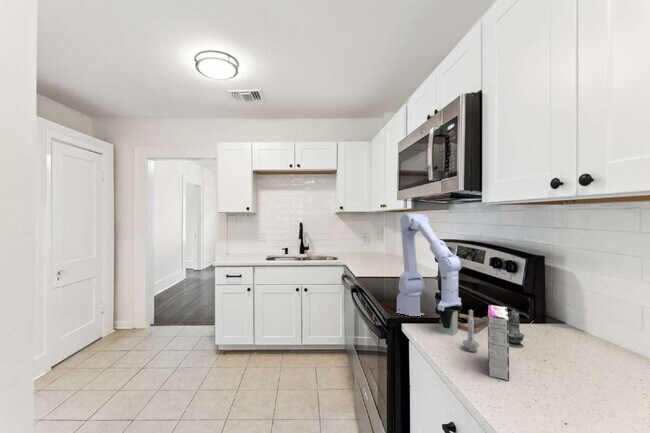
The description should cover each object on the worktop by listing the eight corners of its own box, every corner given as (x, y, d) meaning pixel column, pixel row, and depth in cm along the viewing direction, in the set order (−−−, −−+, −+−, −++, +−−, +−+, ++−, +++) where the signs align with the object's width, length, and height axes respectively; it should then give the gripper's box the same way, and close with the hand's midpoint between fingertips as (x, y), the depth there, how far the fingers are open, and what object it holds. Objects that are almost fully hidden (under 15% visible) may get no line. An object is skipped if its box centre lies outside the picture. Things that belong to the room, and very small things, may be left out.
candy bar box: (487, 359, 88) (487, 304, 88) (507, 363, 86) (507, 306, 86) (487, 376, 79) (487, 315, 79) (509, 382, 76) (509, 318, 76)
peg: (441, 332, 109) (441, 310, 109) (446, 329, 111) (446, 308, 111) (452, 335, 106) (452, 313, 106) (457, 332, 108) (457, 311, 108)
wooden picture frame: (439, 323, 118) (439, 319, 118) (454, 315, 127) (454, 312, 127) (476, 333, 107) (476, 329, 107) (489, 324, 117) (490, 320, 117)
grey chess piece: (528, 348, 96) (528, 311, 96) (510, 348, 96) (510, 311, 96) (517, 340, 101) (517, 305, 101) (499, 340, 102) (500, 305, 102)
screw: (460, 346, 97) (476, 347, 96) (464, 352, 92) (481, 354, 92) (460, 306, 97) (476, 307, 96) (464, 311, 92) (481, 312, 92)
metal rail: (472, 327, 109) (472, 323, 109) (484, 320, 117) (484, 316, 117) (476, 328, 108) (476, 324, 108) (487, 320, 116) (487, 317, 116)
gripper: (451, 294, 101) (451, 334, 101) (469, 287, 111) (468, 324, 110) (432, 290, 106) (432, 328, 106) (450, 284, 116) (450, 319, 116)
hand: (449, 326), depth 109 cm, fingers open, 5 cm apart
